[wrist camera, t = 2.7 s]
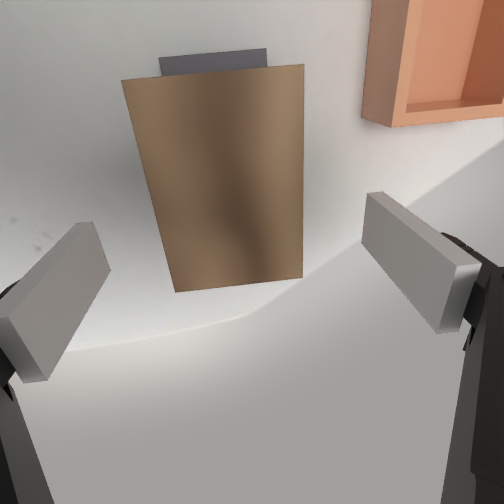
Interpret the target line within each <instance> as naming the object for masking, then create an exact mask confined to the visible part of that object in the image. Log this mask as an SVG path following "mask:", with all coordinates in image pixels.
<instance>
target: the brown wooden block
mask: <svg viewBox="0 0 504 504" xmlns="http://www.w3.org/2000/svg"><path fill="white" fill-rule="evenodd" d="M121 83H122V87H123V91H124V95H125V98H126V102H127V106H128V110H129V114H130V118H131V122H132V126H133V130H134V134H135V137H136V141H137V145H138V149H139V153H140V157H141V161H142V165H143V169H144V173H145V176H146V180H147V184H148V188H149V192H150V196H151V200H152V204H153V208H154V212H155V215H156V219H157V223H158V227H159V231H160V235H161V239H162V243H163V247H164V251H165V254H166V258H167V262H168V266H169V270H170V274H171V278H172V282H173V286H174V290H175V293H176V292H185V291H194V290H202V289H211V288H219V287H228V286H237V285H245V284H254V283H263V282H271V281H280V280H288V279H297V278H303V161H304V64H298V65H285V66H274V67H263V68H252V69H241V70H230V71H218V72H207V73H196V74H185V75H174V76H162V77H151V78H140V79H130V80H121Z"/></svg>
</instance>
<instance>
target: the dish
mask: <svg viewBox="0 0 504 504" xmlns="http://www.w3.org/2000/svg"><path fill="white" fill-rule="evenodd" d="M494 117H504V0H372V10H371V20H370V31H369V41H368V52H367V62H366V73H365V83H364V94H363V104H362V115H361V118H364V119H367V120H370V121H373V122H376V123H379V124H382V125H385V126H388V127H391V128H392V127H402V126H412V125H423V124H433V123H443V122H453V121H463V120H473V119H484V118H494Z"/></svg>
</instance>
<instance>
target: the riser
mask: <svg viewBox="0 0 504 504" xmlns="http://www.w3.org/2000/svg"><path fill="white" fill-rule="evenodd" d="M159 62H160V68H161V73H162V76H174V75H185V74H196V73H207V72H218V71H230V70H241V69H252V68H263V67H267V55H266V48H264V49H252V50H241V51H229V52H218V53H206V54H195V55H184V56H172V57H161V58H159Z"/></svg>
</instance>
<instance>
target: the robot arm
mask: <svg viewBox="0 0 504 504" xmlns="http://www.w3.org/2000/svg"><path fill="white" fill-rule="evenodd" d="M362 244H363V246H364V247H365V248H366V249H367V250H368V252H369V253H370V254H371V255H372V256H373V258H374V259H375V260H376V261H377V262H378V264H379V265H380V266H381V267H382V268H383V270H384V271H385V272H386V273H387V275H388V276H389V277H390V278H391V279H392V280H393V282H394V283H395V284H396V285H397V287H398V288H399V289H400V290H401V291H402V292H403V294H404V295H405V296H406V297H407V299H408V300H409V301H410V302H411V303H412V305H413V306H414V307H415V308H416V309H417V311H418V312H419V313H420V314H421V316H422V317H423V318H424V319H425V320H426V322H427V323H428V324H429V325H430V326H431V328H432V329H433V330H434V331H435V332H436V334H441V333H449V332H458V331H459V329H460V326H461V323H462V320H463V317H464V318H465V319H466V320H467V321H468V322H469V323H470V324H471V325H472V326H471V329H470V331H469V334H468V337H467V340H466V342H465V345H464V348H463V350H464V351H466V352H465V358H464V365H463V370H462V377H461V383H460V389H459V395H458V401H457V407H456V413H455V419H454V425H453V431H452V437H451V443H450V449H449V455H448V462H447V467H446V473H445V480H444V486H443V492H442V498H441V504H504V267H498V266H497V265H495V264H494V263H492V262H491V261H489V260H488V259H487V258H485V257H483V256H482V255H481V254H479V253H478V252H476V251H474V249H472V248H471V247H469V246H466V244H465V243H463V242H462V241H461V240H459V239H458V238H456V237H453V236H451V235H448V234H446V233H443V232H442V233H439V232H438V231H437V230H435V229H434V228H432V227H431V226H430V225H428V224H427V223H425V222H424V221H423V220H421V219H420V218H419V217H417V216H416V215H414V214H413V213H412V212H410V211H409V210H408V209H406V208H405V207H403V206H402V205H401V204H399V203H398V202H396V201H395V200H394V199H392V198H391V197H390V196H388V195H387V194H385V193H384V192H373V193H367V199H366V208H365V217H364V226H363V235H362ZM110 271H111V270H110V267H109V264H108V262H107V259H106V256H105V254H104V251H103V248H102V245H101V243H100V240H99V237H98V234H97V232H96V229H95V226H94V223H93V222H85V223H76V224H75V225H74V226H73V227H72V228H71V229H70V230H69V231H68V232H67V233H66V234H65V235H64V236H63V237H62V238H61V239H60V240H59V241H58V242H57V243H56V244H55V245H54V246H53V247H52V248H51V249H50V250H49V251H48V252H47V253H46V254H45V255H44V256H43V257H42V258H41V259H40V260H39V261H38V262H37V263H36V264H35V265H34V266H33V267H32V268H31V269H30V270H29V271H28V272H27V273H26V274H25V275H24V276H23V278H22V279H20V280H18V281H17V282H15V283H14V284H12V285H10V286H9V287H7V288H6V289H5V290H4V291H3V292H2V293H1V294H0V504H54V501H53V499H52V496H51V493H50V490H49V487H48V485H47V482H46V479H45V476H44V473H43V471H42V468H41V465H40V462H39V459H38V457H37V454H36V451H35V448H34V446H33V443H32V440H31V437H30V434H29V432H28V429H27V426H26V423H25V420H24V418H23V415H22V412H21V409H20V406H19V404H18V401H17V398H16V395H15V393H14V390H13V388H12V386H11V385H10V384H9V382H8V381H9V379H10V378H11V376H12V375H13V374H14V372H15V371H16V373H17V374H18V376H19V377H20V379H21V380H22V382H23V383H30V382H39V381H47V380H48V379H49V377H50V375H51V373H52V372H53V370H54V368H55V366H56V365H57V363H58V361H59V359H60V358H61V356H62V354H63V353H64V351H65V349H66V347H67V346H68V344H69V342H70V340H71V339H72V337H73V335H74V333H75V332H76V330H77V328H78V327H79V325H80V323H81V321H82V320H83V318H84V316H85V314H86V313H87V311H88V309H89V307H90V306H91V304H92V302H93V300H94V299H95V297H96V295H97V294H98V292H99V290H100V288H101V287H102V285H103V283H104V281H105V280H106V278H107V276H108V274H109V273H110Z"/></svg>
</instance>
